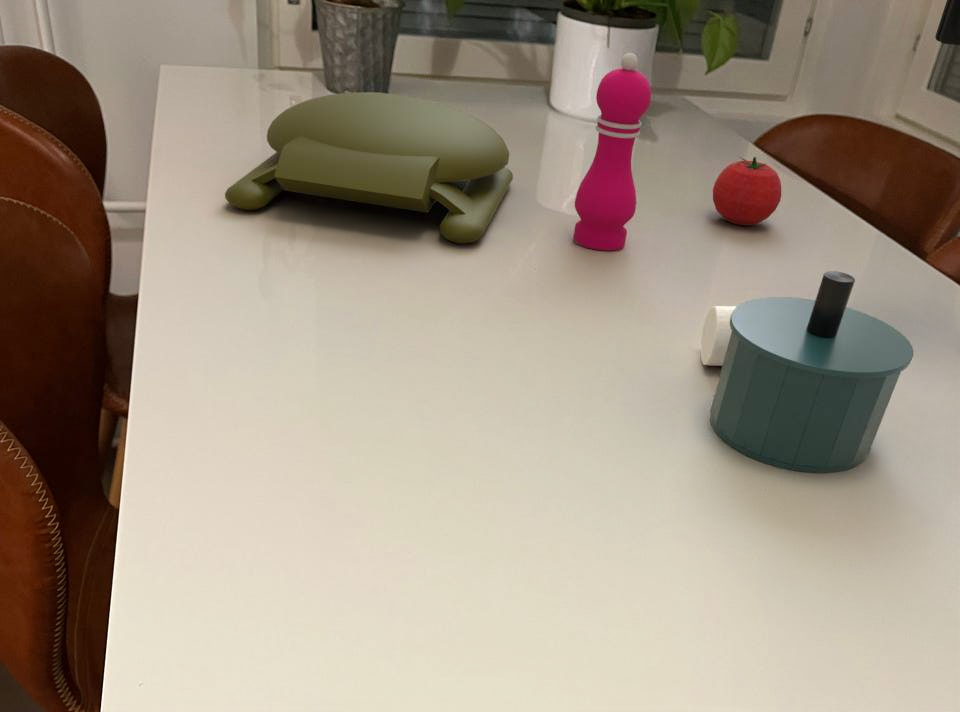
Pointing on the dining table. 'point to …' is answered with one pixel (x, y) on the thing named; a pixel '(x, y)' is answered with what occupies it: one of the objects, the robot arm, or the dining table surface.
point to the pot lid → (822, 333)
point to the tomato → (747, 192)
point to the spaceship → (384, 158)
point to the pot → (796, 412)
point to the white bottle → (716, 335)
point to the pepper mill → (612, 160)
